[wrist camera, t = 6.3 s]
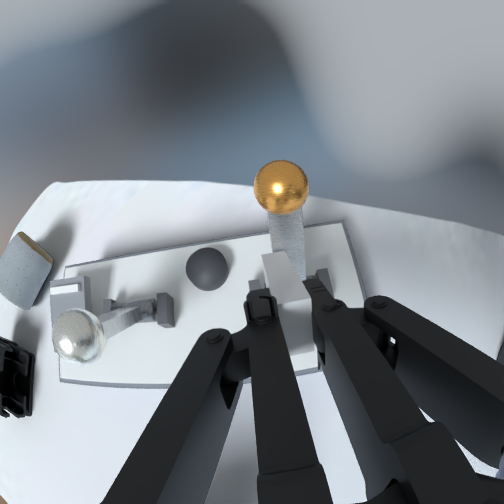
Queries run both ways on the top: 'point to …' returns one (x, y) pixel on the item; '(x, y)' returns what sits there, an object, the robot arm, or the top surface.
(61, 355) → the silver ball lever
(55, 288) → the rocker grey
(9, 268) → the ceramic mug
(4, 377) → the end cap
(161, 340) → the console
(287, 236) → the lever orange
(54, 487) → the top surface
